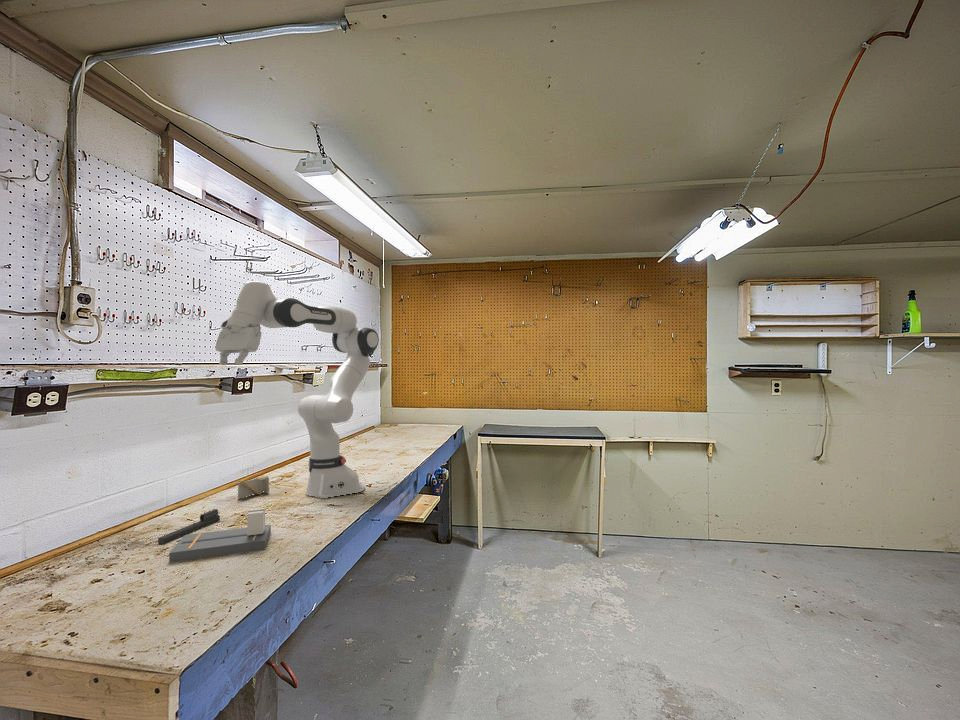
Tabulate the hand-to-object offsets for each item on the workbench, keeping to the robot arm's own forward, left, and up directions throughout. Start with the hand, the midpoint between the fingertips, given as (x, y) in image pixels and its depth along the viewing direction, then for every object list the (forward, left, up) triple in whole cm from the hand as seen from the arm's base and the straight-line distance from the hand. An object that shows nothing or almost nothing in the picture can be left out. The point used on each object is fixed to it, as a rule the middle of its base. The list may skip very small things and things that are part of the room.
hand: (230, 364), depth 132 cm
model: (-3, -29, -52) cm, 60 cm away
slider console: (-3, +19, -51) cm, 55 cm away
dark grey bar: (+9, +3, -52) cm, 53 cm away
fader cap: (-11, +19, -48) cm, 53 cm away
